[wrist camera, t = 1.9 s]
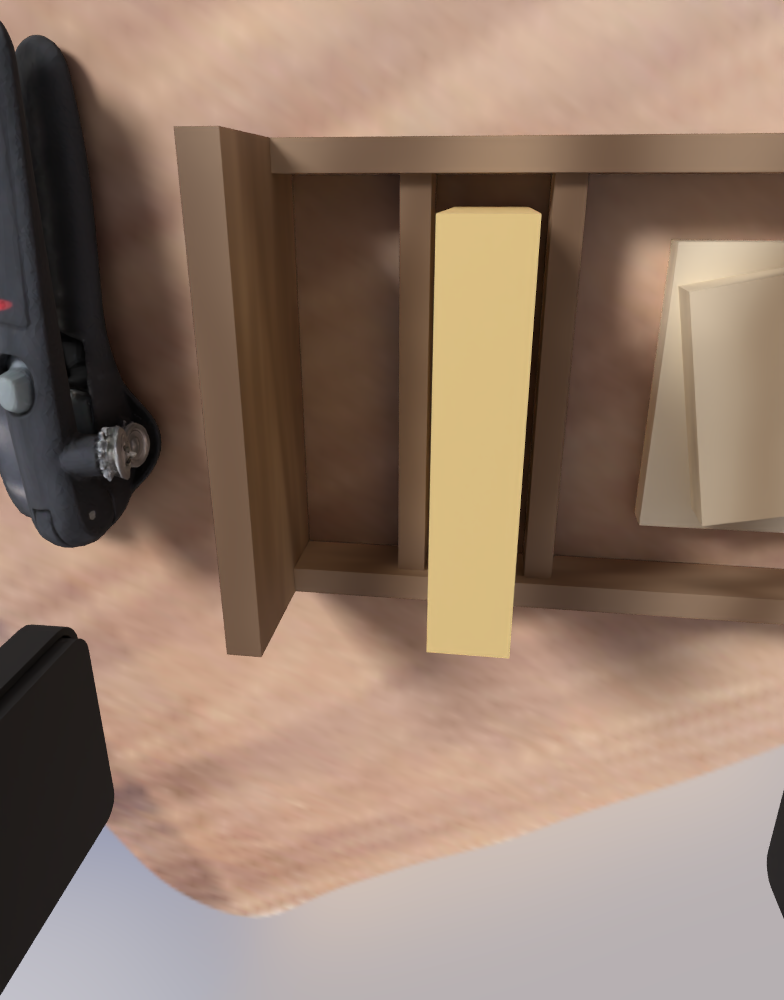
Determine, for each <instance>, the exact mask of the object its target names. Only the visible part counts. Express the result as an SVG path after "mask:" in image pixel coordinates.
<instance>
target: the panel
mask: <svg viewBox="0 0 784 1000" xmlns="http://www.w3.org/2000/svg"><path fill="white" fill-rule="evenodd" d="M540 227H541V213H539V212H537V211H535V210H533V209H532V208H530V207H528V206H456V207H453V208H450V209H447V210H444V211H442V212H439V213H436V234H435V280H434V327H433V373H432V420H431V466H430V513H429V559H428V606H427V652H432V653H445V654H458V655H471V656H484V657H497V658H509V654H510V641H511V627H512V613H513V599H514V586H515V572H516V558H517V544H518V530H519V517H520V503H521V489H522V475H523V462H524V448H525V434H526V420H527V406H528V393H529V379H530V365H531V351H532V338H533V324H534V310H535V296H536V282H537V269H538V255H539V241H540Z"/></svg>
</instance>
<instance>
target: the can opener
mask: <svg viewBox="0 0 784 1000" xmlns="http://www.w3.org/2000/svg"><path fill="white" fill-rule="evenodd" d="M160 451H161V435H160V431H159V428H158V425H157V423H156V421H155V419H154V418H153V417H152V415H151V414H150V413H149V411H148V410H147V409H146V408H145V407H144V405H143V404H142V403H141V402H140V401H139V400H138V399H137V398H136V397H135V396H134V395H133V394H132V393H131V391H130V390H129V389H128V388H127V387H126V385H125V384H124V382H123V380H122V378H121V376H120V374H119V371H118V368H117V366H116V363H115V360H114V357H113V354H112V351H111V348H110V344H109V340H108V337H107V332H106V328H105V320H104V314H103V306H102V294H101V284H100V273H99V260H98V249H97V240H96V228H95V219H94V209H93V200H92V192H91V184H90V177H89V170H88V163H87V157H86V151H85V145H84V139H83V134H82V128H81V123H80V117H79V113H78V108H77V104H76V99H75V94H74V90H73V86H72V82H71V77H70V73H69V69H68V66H67V63H66V61H65V58H64V56H63V54H62V53H61V51H60V49H59V48H58V47H57V45H56V44H55V43H54V42H52V41H51V40H49V39H48V38H46V37H44V36H41V35H32V36H29V37H27V38H26V39H24V40H23V41H22V42H21V43H20V44H19V46H18V47H17V49H16V52H15V50H14V46H13V44H12V41H11V38H10V36H9V34H8V32H7V30H6V28H5V26H4V25H3V23H2V22H1V21H0V474H1V477H2V479H3V483H4V485H5V487H6V490H7V492H8V494H9V496H10V498H11V500H12V502H13V503H14V504H15V506H16V507H17V508H18V509H19V511H20V512H21V513H22V514H24V515H26V516H28V517H31V518H32V521H33V523H34V525H35V527H36V529H37V530H38V532H39V534H40V535H41V536H42V537H43V538H45V539H46V540H48V541H49V542H51V543H53V544H55V545H57V546H61V547H69V548H73V547H78V546H85V545H87V544H90V543H92V542H95V541H97V540H98V539H99V538H100V537H101V536H103V535H104V534H105V533H106V531H107V530H108V529H109V528H110V527H111V526H112V525H113V524H115V522H116V521H117V520H118V519H119V518H120V516H121V515H122V513H123V512H124V510H125V509H126V507H127V505H128V502H129V500H130V497H131V495H132V493H133V492H134V491H135V489H136V488H138V487H139V485H140V484H141V483H142V482H143V481H144V480H145V479H146V478H147V477H148V476H149V474H150V473H151V472H152V470H153V468H154V466H155V465H156V463H157V460H158V458H159V455H160Z"/></svg>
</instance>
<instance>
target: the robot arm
mask: <svg viewBox="0 0 784 1000" xmlns="http://www.w3.org/2000/svg"><path fill="white" fill-rule="evenodd" d="M113 803H114V788H113V783H112V777H111V771H110V766H109V760H108V755H107V749H106V743H105V738H104V732H103V727H102V721H101V716H100V710H99V704H98V699H97V693H96V688H95V682H94V676H93V671H92V665H91V660H90V654H89V649H88V646H87V643H86V642H85V641H84V640H83V639H78V637H77V634H76V633H75V632H74V630H73V629H71V628H69V627H59V626H45V625H26V626H24V627H23V628H21V629H20V630H19V631H18V632H17V633H15V634H14V635H13V636H12V637H11V638H10V639H9V640H8V641H7V642H6V643H5V644H3V645H2V646H1V647H0V995H1V993H2V992H3V990H4V989H5V987H6V985H7V983H8V982H9V980H10V979H11V977H12V975H13V974H14V972H15V971H16V969H17V967H18V966H19V964H20V962H21V961H22V959H23V958H24V956H25V954H26V953H27V951H28V949H29V948H30V946H31V945H32V943H33V941H34V940H35V938H36V936H37V935H38V933H39V932H40V930H41V928H42V927H43V925H44V923H45V922H46V920H47V919H48V917H49V915H50V914H51V912H52V910H53V909H54V907H55V905H56V904H57V902H58V901H59V899H60V897H61V896H62V894H63V892H64V890H65V889H66V888H67V886H68V884H69V883H70V881H71V879H72V878H73V876H74V874H75V873H76V871H77V870H78V868H79V866H80V865H81V863H82V861H83V860H84V858H85V857H86V855H87V853H88V852H89V850H90V849H91V847H92V845H93V844H94V842H95V840H96V839H97V837H98V835H99V834H100V832H101V831H102V829H103V827H104V826H105V824H106V822H107V821H108V819H109V817H110V814H111V811H112V808H113ZM767 871H768V878H769V882H770V885H771V888H772V891H773V893H774V896H775V898H776V901H777V903H778V906H779V908H780V910H781V913H782V915H783V918H784V792H783V796H782V799H781V803H780V808H779V811H778V815H777V819H776V823H775V827H774V831H773V835H772V838H771V842H770V846H769V850H768V855H767Z"/></svg>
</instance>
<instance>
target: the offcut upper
mask: <svg viewBox="0 0 784 1000" xmlns="http://www.w3.org/2000/svg"><path fill="white" fill-rule="evenodd" d="M678 292H679V309H680V325H681V342H682V359H683V375H684V392H685V409H686V425H687V442H688V458H689V475H690V492H691V508H692V510H693V512H694V513H695V515H696V517H697V518H698V520H699V522H700V523H701V525H702V526H709V525H717V524H725V523H734V522H742V521H750V520H759V519H767V518H775V517H784V267H779V268H774V269H768V270H763V271H757V272H752V273H746V274H741V275H735V276H730V277H724V278H719V279H713V280H708V281H702V282H697V283H691V284H686V285H680V286H678Z"/></svg>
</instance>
